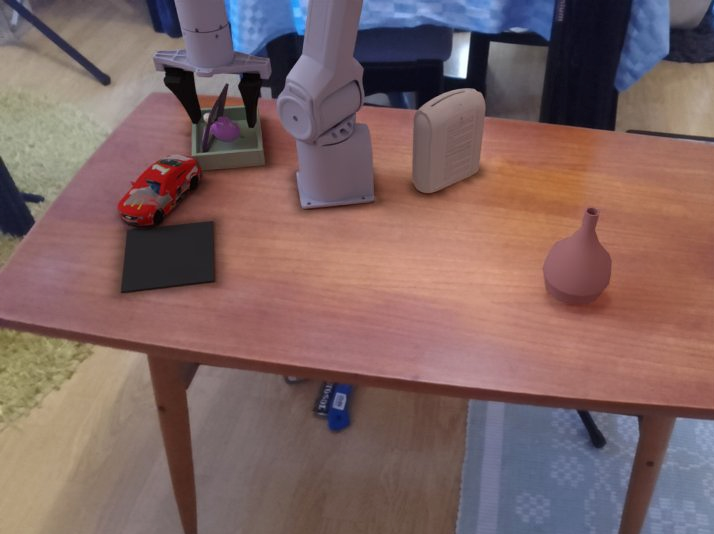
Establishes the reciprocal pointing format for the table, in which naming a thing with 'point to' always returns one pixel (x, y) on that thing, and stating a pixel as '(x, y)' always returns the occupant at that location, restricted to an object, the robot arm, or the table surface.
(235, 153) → the sage tray
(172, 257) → the charcoal mat
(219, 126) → the purple finned figure
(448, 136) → the photo printer
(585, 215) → the brown bulb vase
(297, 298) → the table surface
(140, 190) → the race car
